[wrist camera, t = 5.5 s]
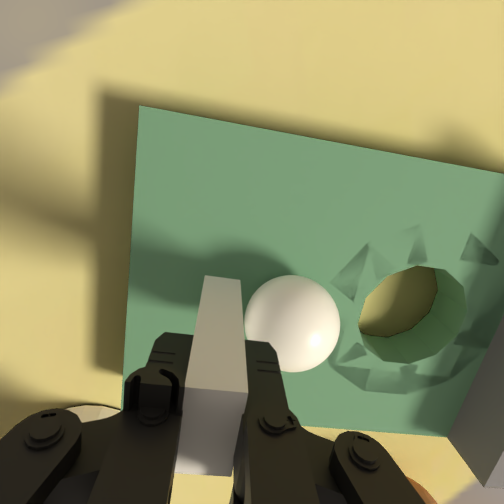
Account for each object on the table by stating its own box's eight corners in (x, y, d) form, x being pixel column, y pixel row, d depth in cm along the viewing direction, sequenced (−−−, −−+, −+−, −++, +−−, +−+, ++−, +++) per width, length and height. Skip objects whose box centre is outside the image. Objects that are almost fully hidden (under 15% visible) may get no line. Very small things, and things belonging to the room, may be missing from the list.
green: (133, 378, 20) (100, 464, 15) (152, 110, 15) (114, 96, 10) (440, 406, 22) (504, 488, 17) (538, 182, 18) (668, 201, 12)
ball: (239, 390, 13) (340, 398, 13) (256, 294, 11) (367, 307, 12) (236, 333, 16) (314, 340, 17) (248, 257, 15) (332, 267, 16)
